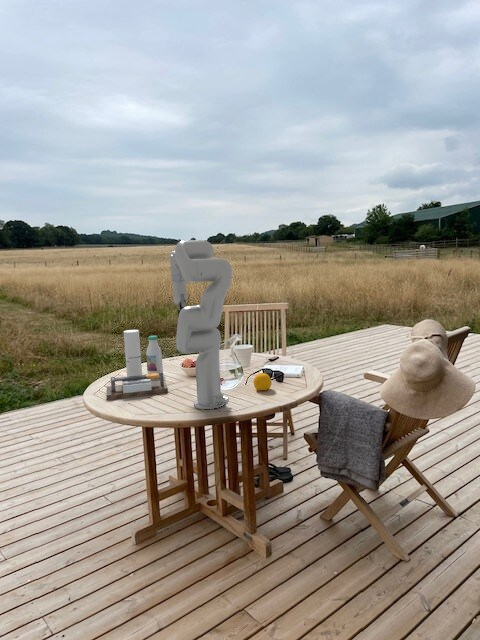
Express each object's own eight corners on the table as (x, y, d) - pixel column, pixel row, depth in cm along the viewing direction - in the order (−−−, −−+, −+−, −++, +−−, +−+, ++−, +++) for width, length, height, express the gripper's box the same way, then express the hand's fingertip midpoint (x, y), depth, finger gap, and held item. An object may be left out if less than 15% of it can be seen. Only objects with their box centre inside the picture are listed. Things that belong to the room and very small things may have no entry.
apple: (271, 392, 195) (270, 375, 193) (252, 392, 196) (252, 375, 194) (272, 387, 202) (271, 370, 201) (254, 387, 203) (254, 370, 202)
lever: (111, 382, 197) (111, 380, 197) (111, 379, 201) (111, 377, 201) (159, 377, 203) (159, 375, 203) (158, 374, 207) (158, 372, 207)
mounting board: (106, 400, 193) (106, 395, 193) (107, 390, 206) (106, 386, 206) (168, 392, 200) (167, 388, 200) (164, 384, 213) (164, 380, 213)
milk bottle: (157, 371, 236) (155, 334, 233) (166, 374, 231) (163, 335, 228) (144, 375, 231) (142, 336, 228) (152, 377, 225) (150, 338, 222)
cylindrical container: (138, 384, 215) (135, 332, 211) (124, 383, 217) (120, 332, 213) (144, 379, 222) (141, 329, 218) (131, 379, 223) (127, 329, 220)
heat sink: (111, 394, 193) (110, 381, 193) (111, 386, 206) (110, 373, 206) (164, 388, 199) (164, 375, 199) (161, 380, 212) (160, 368, 212)
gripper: (169, 278, 210) (171, 317, 213) (173, 279, 196) (176, 321, 199) (185, 277, 212) (187, 316, 215) (190, 278, 198) (193, 320, 201)
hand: (181, 318), depth 207 cm, fingers closed
